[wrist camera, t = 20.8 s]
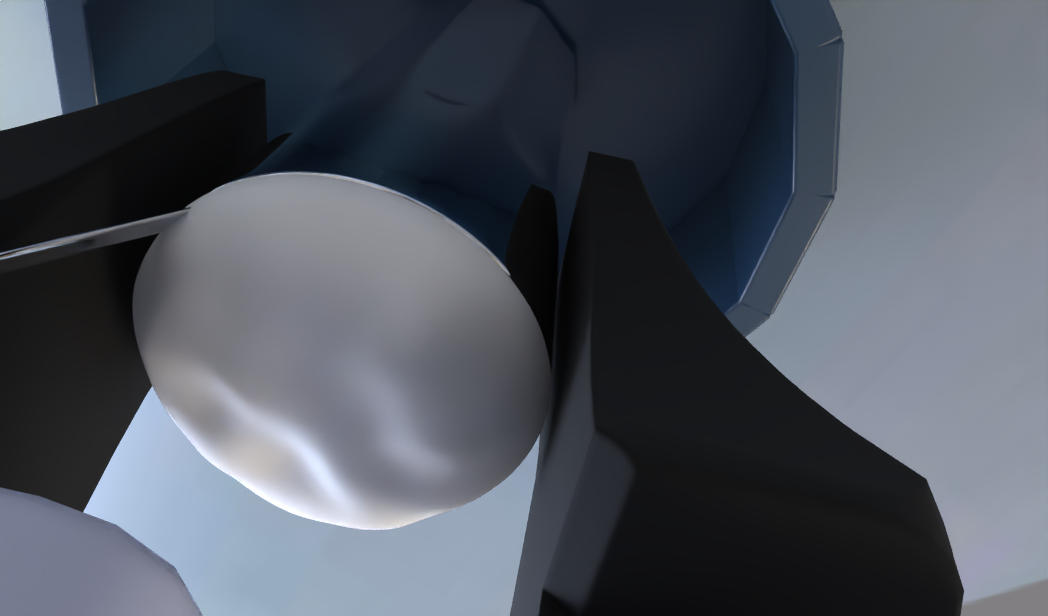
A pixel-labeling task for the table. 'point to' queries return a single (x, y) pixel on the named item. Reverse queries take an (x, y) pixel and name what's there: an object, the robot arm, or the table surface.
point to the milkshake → (372, 278)
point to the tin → (600, 102)
